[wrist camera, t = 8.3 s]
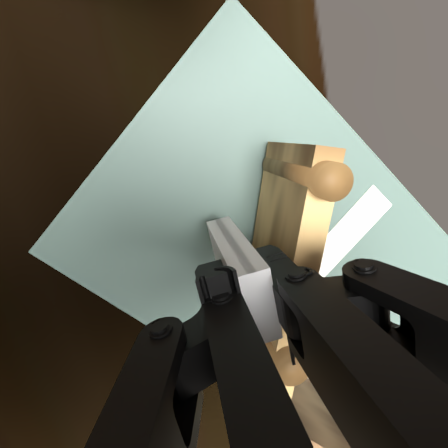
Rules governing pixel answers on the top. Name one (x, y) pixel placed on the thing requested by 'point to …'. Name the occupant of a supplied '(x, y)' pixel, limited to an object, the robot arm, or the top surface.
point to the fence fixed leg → (317, 418)
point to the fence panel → (298, 217)
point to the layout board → (223, 180)
